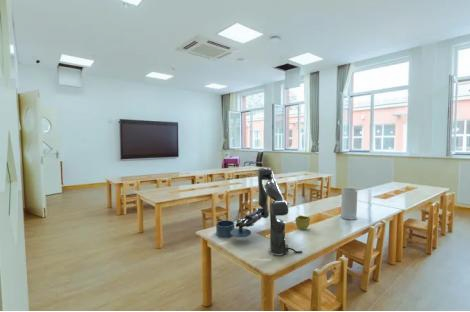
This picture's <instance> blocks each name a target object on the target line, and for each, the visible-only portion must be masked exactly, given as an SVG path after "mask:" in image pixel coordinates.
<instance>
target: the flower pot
mask: <svg viewBox="0 0 470 312" xmlns="http://www.w3.org/2000/svg"><path fill="white" fill-rule="evenodd" d="M310 223H311V217H310V216H305V215H298V216H296V217H295V225H296V227H297V228H298V230H302V231H306V230H307V229H308V228H309V226H310Z"/></svg>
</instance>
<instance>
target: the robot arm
mask: <svg viewBox="0 0 470 312" xmlns="http://www.w3.org/2000/svg"><path fill="white" fill-rule="evenodd" d="M263 181H267V182H266V183H265V185H264V184H263ZM257 185H258V186H257V187H258V201H257V202H258V203H257V204H258V206H259V207H257V208H256V209H255V211H253V212H250V213H249V214H247V215H245V216H244V218H241V219H240V218H237V219H236V223H235V227H236V228H239V222H243V223H242V224H240V228H242V227H243V228H244V227H246V228H248V227H254V226H255V225H254V224H256V223H257V222H258V221H260V220H261V219H268V217H269V226H270V227H269V253H270V254H272V255H273V256H275V257H276V256H278V257H281V256H285V255H286V253H289V250H291V251H293V252H294V253H296V254H300V253H303V251H302V250H295V248H292V247H289V244H286V221H284V220H283V219H280V218H278V217H282V216H287V215H288V214H289V206H288V203H287V201H286V199H285V197H284V196H283V194H282V192H281V190H280V187H279V184H278V183H277V180H276V179H275V175H274V172H273V169H272V168H270V167H260V168H258V170H257ZM268 198H270V199H271V201H270V202H269V205H268V200H269V199H268Z"/></svg>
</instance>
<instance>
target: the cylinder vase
mask: <svg viewBox="0 0 470 312" xmlns="http://www.w3.org/2000/svg"><path fill="white" fill-rule="evenodd" d="M340 201H341V202H340V217H341V219H345V220H349V221H351V220H356V219H357V214H358V213H357V212H358V189H357V188H351V187H343V188H341V199H340Z"/></svg>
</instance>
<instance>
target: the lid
mask: <svg viewBox="0 0 470 312" xmlns="http://www.w3.org/2000/svg"><path fill="white" fill-rule="evenodd" d="M242 223H243V222H239V226H238V227H237V228H235V229H234V230H232V231H231V232H230V234H231V235H232V237H235V238H246V237H247V238H248V237H249V236H251V235H252V230H250V229H248V228H244V227H242V228H240V224H242Z"/></svg>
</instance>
